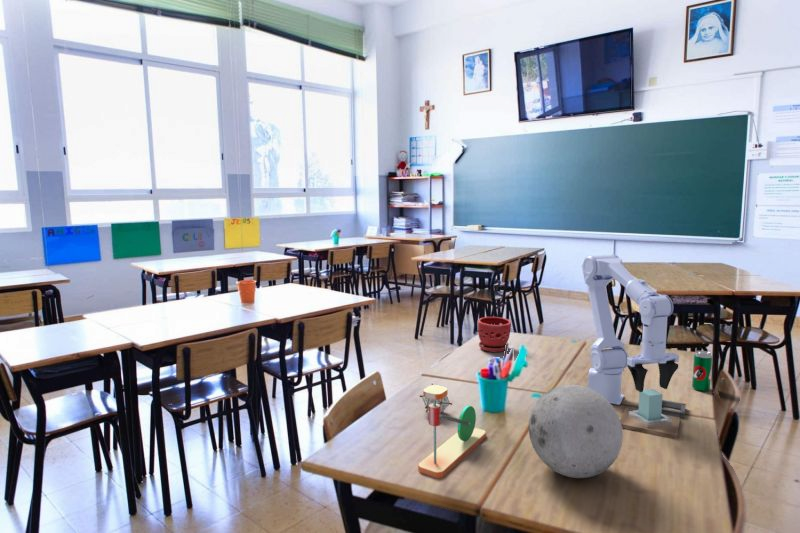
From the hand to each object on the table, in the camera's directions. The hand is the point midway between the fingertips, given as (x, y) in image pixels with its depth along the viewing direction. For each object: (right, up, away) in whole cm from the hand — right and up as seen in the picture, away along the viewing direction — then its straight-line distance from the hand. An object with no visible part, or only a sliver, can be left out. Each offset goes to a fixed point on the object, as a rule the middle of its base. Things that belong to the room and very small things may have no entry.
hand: (651, 389), depth 141 cm
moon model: (-28, -14, -22) cm, 38 cm away
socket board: (0, -10, +1) cm, 10 cm away
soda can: (+28, -6, +25) cm, 38 cm away
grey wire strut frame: (-57, -10, +11) cm, 59 cm away
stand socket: (+10, -8, +9) cm, 16 cm away
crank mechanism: (-54, -13, -12) cm, 57 cm away
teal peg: (0, -9, +1) cm, 9 cm away
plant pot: (-30, -1, +71) cm, 77 cm away
